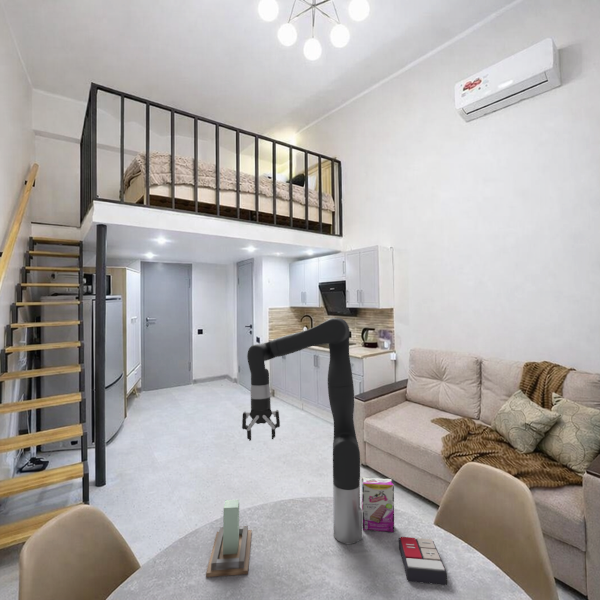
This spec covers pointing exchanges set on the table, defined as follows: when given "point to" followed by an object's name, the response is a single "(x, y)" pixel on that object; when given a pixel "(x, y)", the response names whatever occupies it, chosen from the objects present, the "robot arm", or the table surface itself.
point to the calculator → (422, 561)
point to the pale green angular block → (231, 527)
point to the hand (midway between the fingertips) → (261, 439)
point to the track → (230, 555)
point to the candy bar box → (377, 504)
